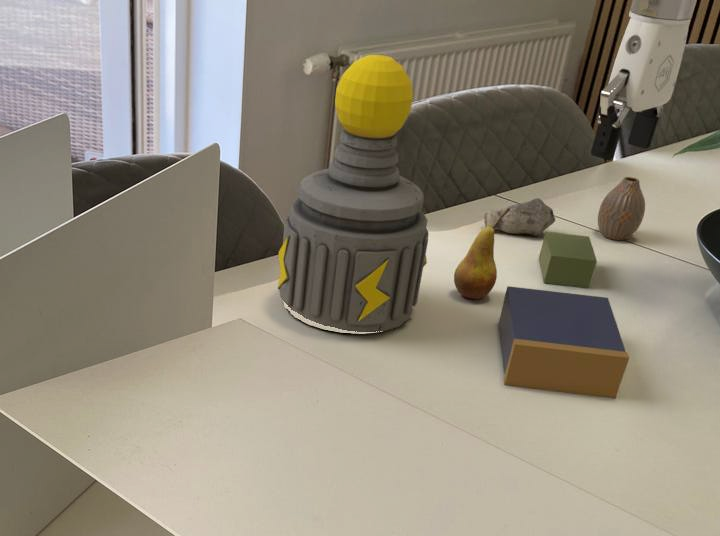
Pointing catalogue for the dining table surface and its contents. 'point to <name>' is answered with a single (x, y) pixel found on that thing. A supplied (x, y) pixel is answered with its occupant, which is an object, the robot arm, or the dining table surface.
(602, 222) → the vase
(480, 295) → the fruit
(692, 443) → the dining table surface
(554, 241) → the green rectangular block
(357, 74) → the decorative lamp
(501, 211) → the stone
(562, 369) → the blue and tan box
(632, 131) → the robot arm
